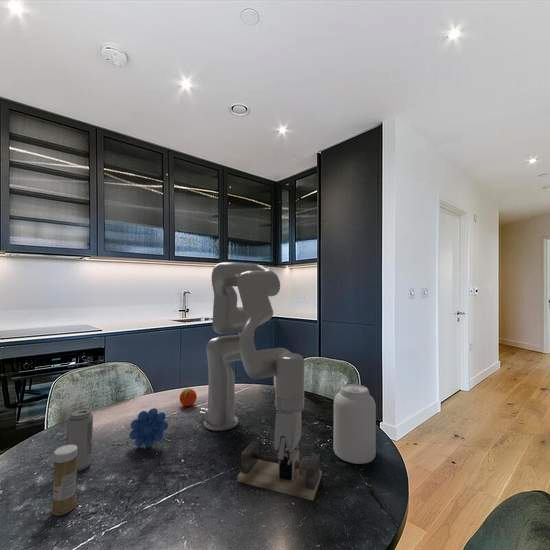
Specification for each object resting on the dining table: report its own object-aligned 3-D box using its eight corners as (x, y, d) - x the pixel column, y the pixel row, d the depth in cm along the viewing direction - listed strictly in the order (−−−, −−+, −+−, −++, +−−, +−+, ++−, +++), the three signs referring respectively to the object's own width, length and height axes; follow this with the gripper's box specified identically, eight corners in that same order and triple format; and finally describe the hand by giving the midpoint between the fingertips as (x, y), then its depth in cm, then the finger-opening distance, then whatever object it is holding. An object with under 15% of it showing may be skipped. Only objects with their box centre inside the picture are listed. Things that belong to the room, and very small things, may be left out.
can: (369, 470, 87) (369, 397, 87) (327, 456, 93) (327, 389, 94) (380, 450, 97) (380, 385, 98) (341, 439, 104) (342, 378, 104)
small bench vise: (237, 481, 81) (238, 456, 81) (253, 461, 90) (253, 438, 91) (313, 500, 74) (313, 472, 74) (321, 476, 83) (321, 451, 84)
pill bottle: (48, 510, 70) (50, 449, 70) (72, 499, 74) (73, 441, 74) (55, 520, 67) (57, 456, 67) (78, 508, 71) (80, 448, 71)
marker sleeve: (278, 477, 80) (278, 457, 80) (284, 466, 84) (284, 447, 85) (293, 480, 78) (293, 460, 79) (298, 469, 83) (299, 450, 83)
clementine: (193, 410, 126) (193, 392, 126) (176, 410, 126) (176, 392, 126) (198, 402, 134) (198, 386, 134) (182, 402, 134) (182, 385, 134)
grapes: (171, 440, 102) (171, 402, 102) (165, 451, 95) (165, 411, 96) (134, 440, 101) (135, 403, 102) (126, 451, 95) (127, 411, 95)
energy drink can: (68, 463, 88) (70, 409, 89) (93, 458, 91) (94, 406, 91) (63, 475, 83) (65, 418, 83) (90, 470, 85) (91, 414, 86)
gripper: (286, 389, 91) (285, 453, 91) (264, 412, 75) (263, 488, 75) (311, 393, 89) (310, 458, 88) (294, 417, 73) (293, 496, 72)
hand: (288, 471), depth 81 cm, fingers closed on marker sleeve, 5 cm apart
